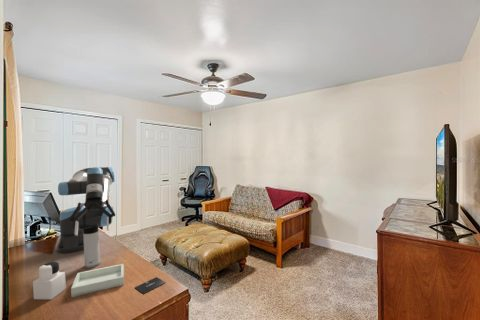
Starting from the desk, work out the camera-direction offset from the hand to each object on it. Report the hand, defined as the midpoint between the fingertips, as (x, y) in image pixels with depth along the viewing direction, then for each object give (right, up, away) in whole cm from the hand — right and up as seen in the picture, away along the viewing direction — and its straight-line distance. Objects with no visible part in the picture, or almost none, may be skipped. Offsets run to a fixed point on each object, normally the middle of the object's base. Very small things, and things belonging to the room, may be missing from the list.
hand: (92, 232), depth 117 cm
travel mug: (+1, -16, -1) cm, 16 cm away
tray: (+14, -16, -17) cm, 27 cm away
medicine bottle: (-1, -17, -24) cm, 30 cm away
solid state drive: (+36, -17, -19) cm, 44 cm away
